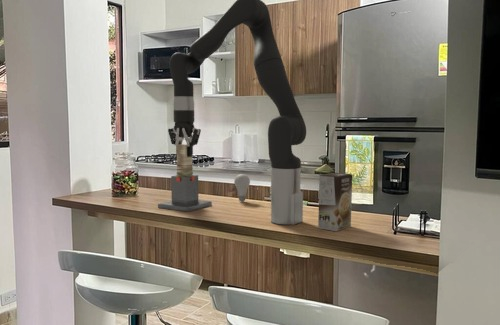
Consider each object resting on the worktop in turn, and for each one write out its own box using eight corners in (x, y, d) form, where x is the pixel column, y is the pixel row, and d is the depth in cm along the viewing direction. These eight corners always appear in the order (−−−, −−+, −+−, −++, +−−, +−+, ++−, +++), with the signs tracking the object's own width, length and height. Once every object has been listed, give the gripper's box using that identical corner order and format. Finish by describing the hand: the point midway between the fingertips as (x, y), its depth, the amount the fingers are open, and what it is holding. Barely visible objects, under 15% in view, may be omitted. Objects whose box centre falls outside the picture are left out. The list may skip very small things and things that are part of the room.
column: (193, 186, 167) (192, 144, 166) (185, 187, 164) (185, 145, 162) (184, 185, 169) (183, 144, 168) (176, 186, 166) (176, 144, 164)
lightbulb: (241, 203, 172) (241, 175, 171) (231, 201, 177) (231, 173, 176) (253, 201, 176) (253, 174, 175) (243, 199, 181) (243, 172, 180)
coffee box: (336, 232, 130) (337, 176, 128) (317, 228, 134) (318, 174, 132) (351, 226, 137) (352, 173, 135) (332, 223, 141) (333, 172, 139)
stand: (211, 205, 170) (211, 174, 168) (188, 211, 158) (187, 179, 157) (182, 201, 177) (182, 172, 176) (158, 207, 165) (157, 176, 164)
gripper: (205, 109, 163) (206, 156, 165) (175, 109, 171) (176, 155, 172) (192, 109, 157) (193, 158, 159) (162, 109, 164) (162, 156, 166)
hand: (184, 156), depth 165 cm, fingers closed on column, 4 cm apart
